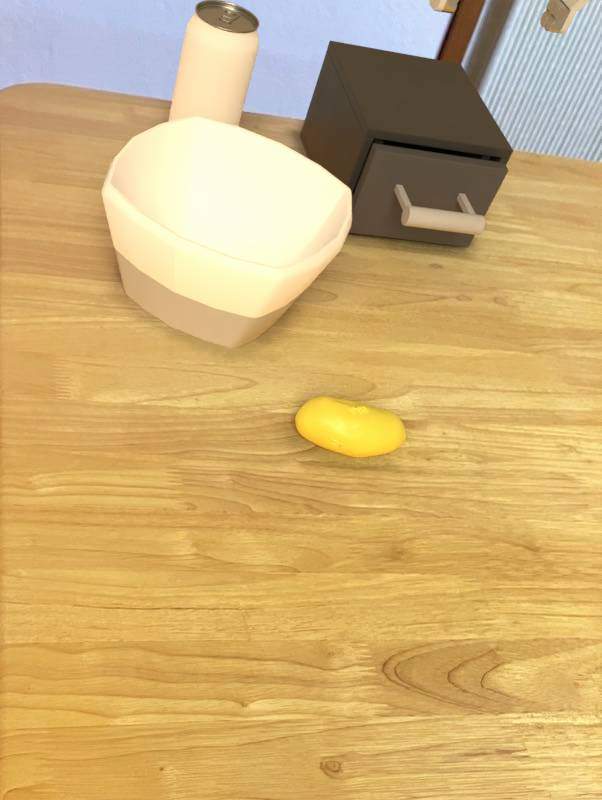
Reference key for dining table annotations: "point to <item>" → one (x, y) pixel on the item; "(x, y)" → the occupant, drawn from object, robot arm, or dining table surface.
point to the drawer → (424, 193)
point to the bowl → (220, 226)
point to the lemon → (350, 427)
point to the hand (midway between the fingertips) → (496, 19)
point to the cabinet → (393, 109)
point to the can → (216, 62)
